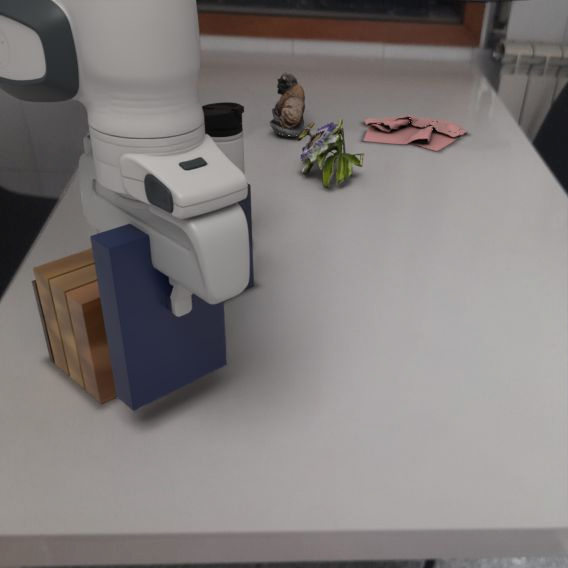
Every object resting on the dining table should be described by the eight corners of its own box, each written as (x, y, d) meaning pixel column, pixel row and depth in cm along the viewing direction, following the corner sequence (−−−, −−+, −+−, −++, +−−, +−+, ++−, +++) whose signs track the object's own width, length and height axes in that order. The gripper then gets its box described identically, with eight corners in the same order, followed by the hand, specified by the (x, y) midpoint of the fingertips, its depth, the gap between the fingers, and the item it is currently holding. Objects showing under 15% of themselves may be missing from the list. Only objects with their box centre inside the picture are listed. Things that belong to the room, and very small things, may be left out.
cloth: (479, 133, 149) (481, 121, 148) (418, 159, 135) (419, 146, 134) (401, 110, 159) (402, 99, 158) (336, 132, 145) (336, 120, 144)
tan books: (50, 360, 79) (27, 263, 72) (137, 323, 86) (123, 231, 79) (100, 404, 73) (81, 304, 66) (190, 361, 80) (180, 266, 73)
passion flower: (307, 202, 129) (294, 136, 129) (366, 191, 130) (353, 125, 130) (305, 189, 118) (291, 117, 118) (370, 177, 119) (356, 105, 118)
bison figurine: (306, 142, 140) (307, 89, 134) (269, 141, 139) (269, 88, 133) (303, 122, 149) (304, 72, 144) (269, 121, 149) (269, 71, 143)
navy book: (116, 396, 69) (89, 235, 59) (209, 352, 75) (199, 201, 66) (133, 411, 67) (109, 248, 57) (227, 364, 74) (219, 212, 64)
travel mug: (236, 259, 100) (230, 114, 88) (194, 249, 101) (182, 106, 90) (256, 240, 104) (253, 101, 93) (216, 231, 106) (207, 93, 95)
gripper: (49, 128, 61) (75, 269, 70) (193, 207, 51) (204, 364, 59) (115, 114, 65) (132, 250, 73) (262, 185, 54) (263, 335, 62)
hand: (165, 301), depth 66 cm, fingers closed on navy book, 3 cm apart
